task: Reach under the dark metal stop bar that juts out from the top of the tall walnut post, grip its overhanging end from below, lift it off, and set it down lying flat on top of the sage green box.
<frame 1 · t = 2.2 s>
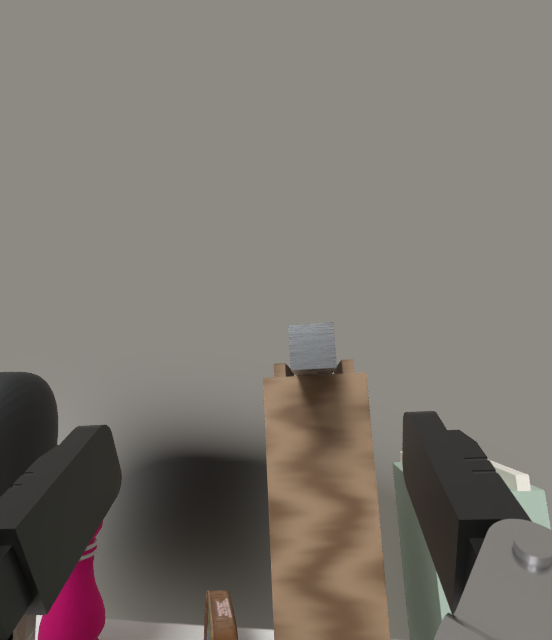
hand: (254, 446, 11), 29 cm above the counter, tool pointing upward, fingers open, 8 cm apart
stop bar: (314, 376, 38), point 32 cm above the counter, touching walnut post
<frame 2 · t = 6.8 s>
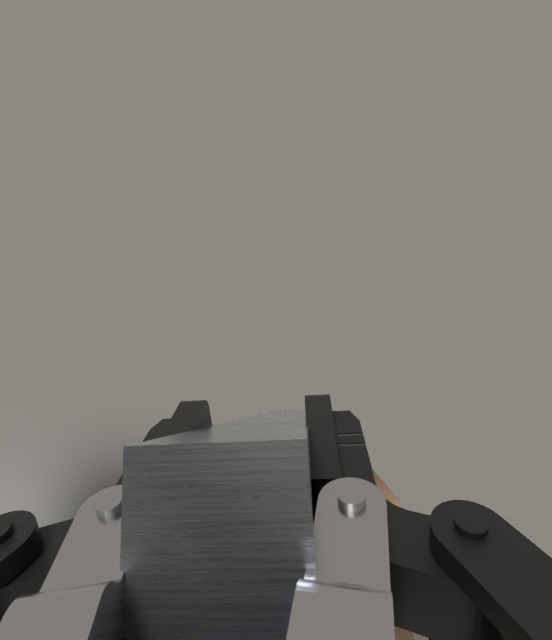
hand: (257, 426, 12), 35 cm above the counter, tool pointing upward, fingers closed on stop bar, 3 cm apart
stop bar: (280, 486, 17), point 32 cm above the counter, touching gripper, walnut post
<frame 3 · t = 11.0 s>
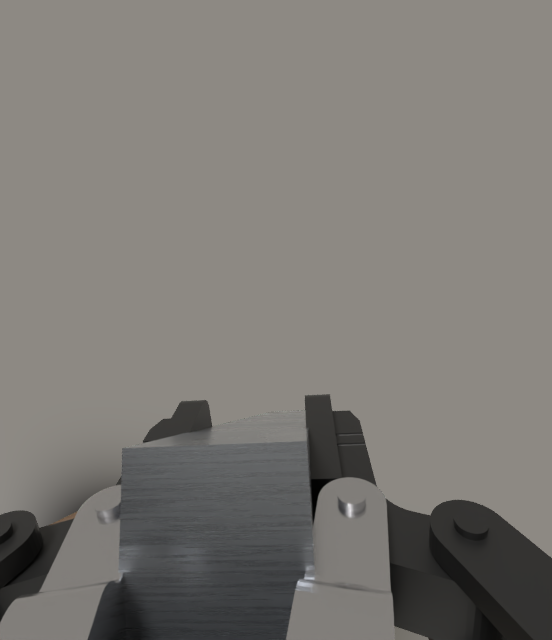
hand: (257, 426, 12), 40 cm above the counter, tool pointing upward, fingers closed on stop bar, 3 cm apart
stop bar: (280, 486, 17), point 37 cm above the counter, touching gripper
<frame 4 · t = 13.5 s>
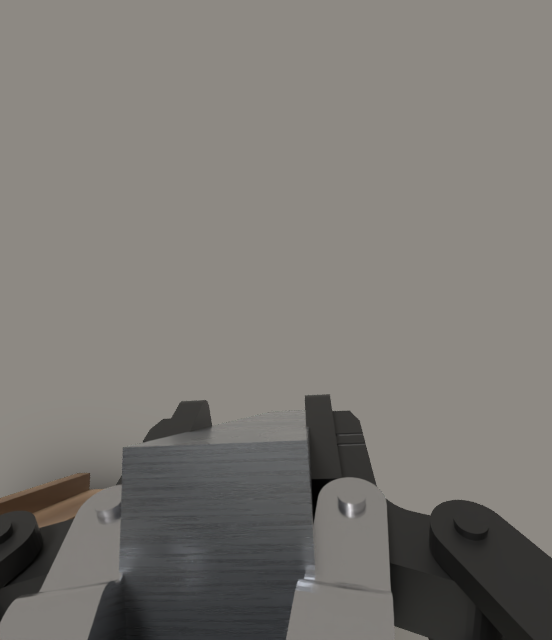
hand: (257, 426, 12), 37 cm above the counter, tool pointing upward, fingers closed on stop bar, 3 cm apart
stop bar: (280, 486, 17), point 34 cm above the counter, touching gripper
when the fingers open (26 cm above the counter, at t = 15.6 s): stop bar drops 1 cm, resting on sage green box.
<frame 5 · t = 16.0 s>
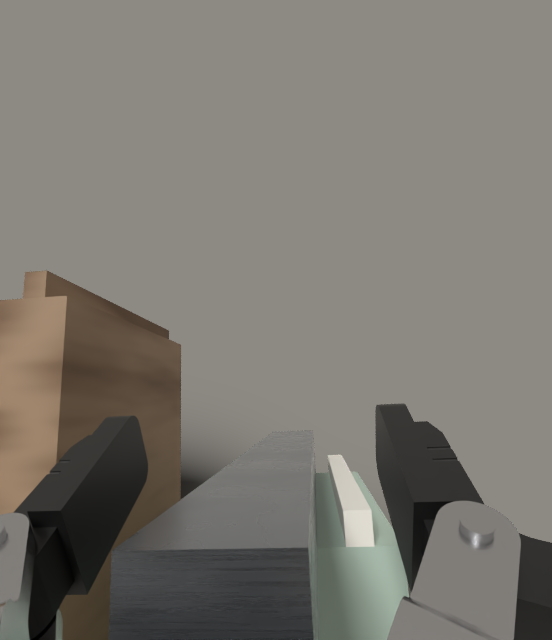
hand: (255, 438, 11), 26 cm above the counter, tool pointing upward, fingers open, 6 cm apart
stop bar: (281, 524, 17), point 22 cm above the counter, touching sage green box
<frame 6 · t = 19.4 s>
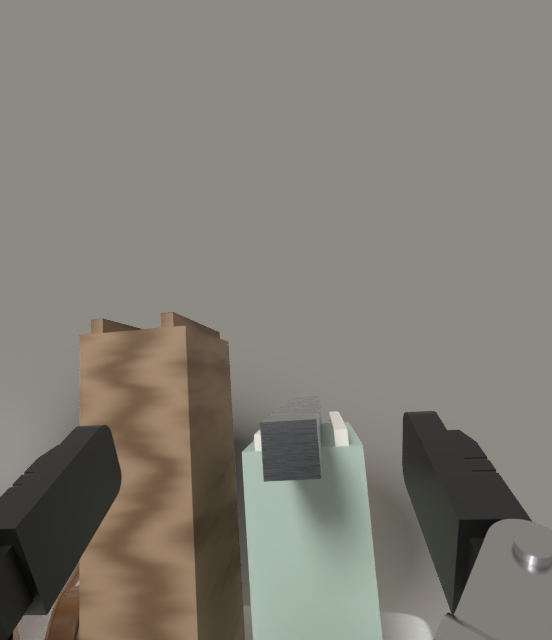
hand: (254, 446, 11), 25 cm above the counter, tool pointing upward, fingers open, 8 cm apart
stop bar: (303, 442, 32), point 22 cm above the counter, touching sage green box
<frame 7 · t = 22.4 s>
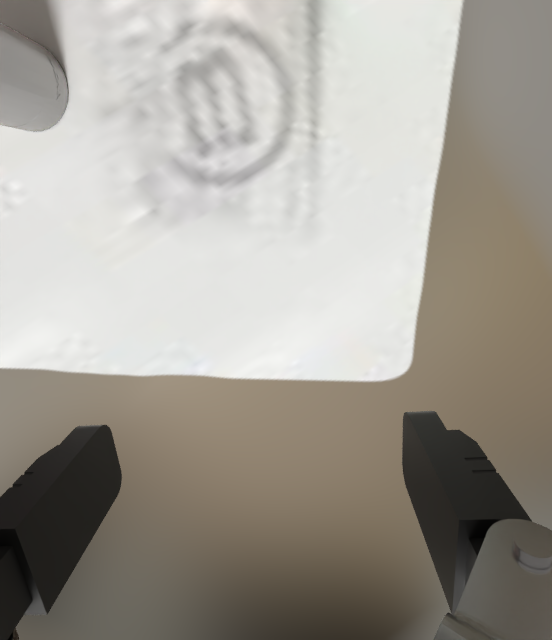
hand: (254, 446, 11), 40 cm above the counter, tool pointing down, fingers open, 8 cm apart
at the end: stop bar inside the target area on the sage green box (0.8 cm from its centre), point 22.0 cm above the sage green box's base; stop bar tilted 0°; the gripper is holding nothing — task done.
